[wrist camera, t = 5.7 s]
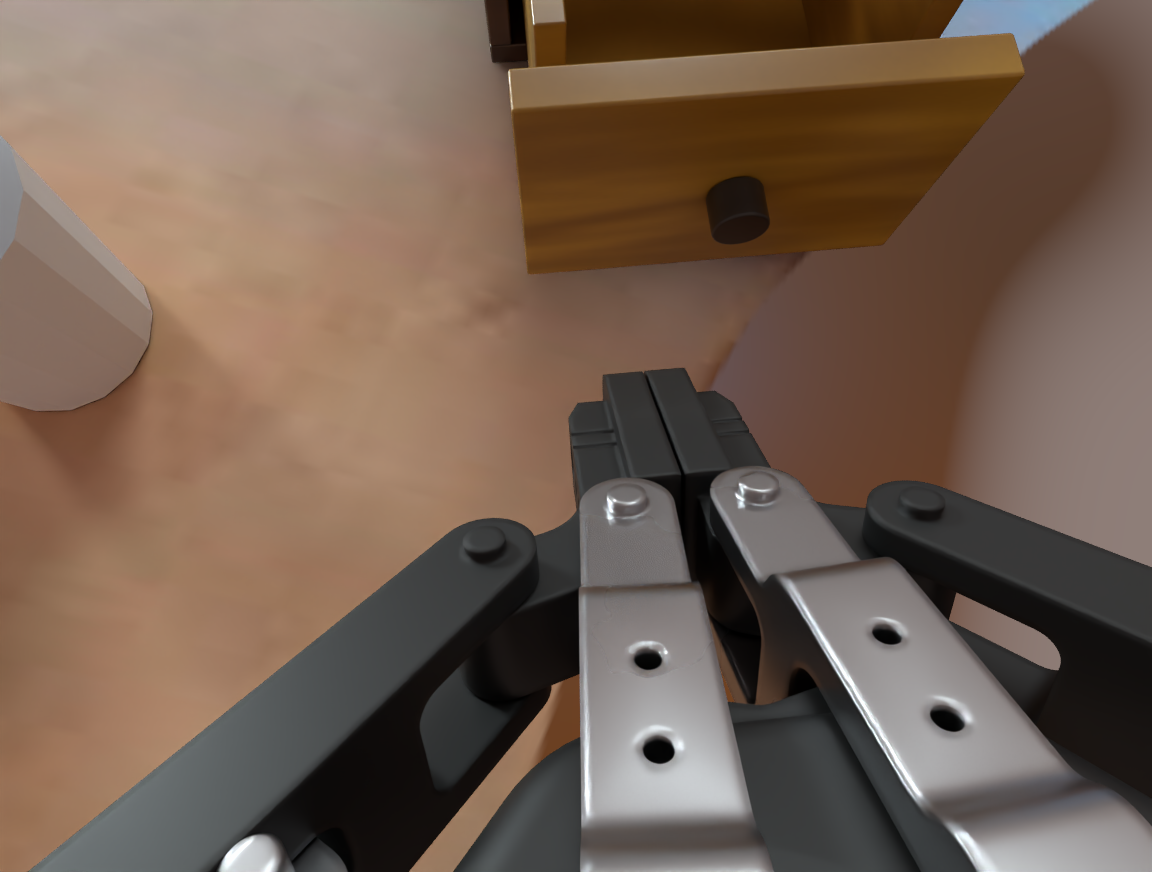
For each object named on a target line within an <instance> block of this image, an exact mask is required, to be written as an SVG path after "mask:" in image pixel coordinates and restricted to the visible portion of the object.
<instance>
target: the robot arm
mask: <svg viewBox="0 0 1152 872" xmlns="http://www.w3.org/2000/svg"><path fill="white" fill-rule="evenodd" d="M569 432H570V445H571V459H572V473H573V487H574V494H575V501H576V509H577V511H576V513H575V514H574V515H573V516H572V517H571V518H570V519H569V520H568V521H567V522H565V523H564V524H563V525H561V526H559V527H557V528H555V529H553V530H551V531H548V532H545V533H542V534H539V535H536V536H534V535H533V533H532V532H531V531H530V530H529V529H528V528H527V527H525V526H524V525H522V524H520V523H518V522H516V521H512V520H508V519H502V518H487V519H480V520H475V521H472V522H468V523H466V524H463V525H461V526H459V527H457V528H455V529H453V530H452V531H451V532H449V533H448V534H446V535H445V536H444V537H443V538H441V539H440V540H439V541H438V542H437V543H435V544H434V545H433V546H432V547H430V548H429V549H428V550H427V551H425V552H424V553H423V554H422V555H420V556H419V557H418V558H417V559H415V560H414V561H413V562H412V563H410V564H409V565H408V566H407V567H406V568H404V569H403V570H402V571H401V572H399V573H398V574H397V575H396V576H394V577H393V578H392V579H391V580H389V581H388V582H387V583H386V584H384V585H383V586H382V587H381V588H379V589H378V590H377V591H376V592H374V593H373V594H372V595H371V596H370V597H368V598H367V599H366V600H365V601H363V602H362V603H361V604H360V605H358V606H357V607H356V608H355V609H353V610H352V611H351V612H350V613H348V614H347V615H346V616H345V617H343V618H342V619H341V620H340V621H338V622H337V623H336V624H335V625H334V626H332V627H331V628H330V629H329V630H327V631H326V632H325V633H324V634H322V635H321V636H320V637H319V638H317V639H316V640H315V641H314V642H312V643H311V644H310V645H309V646H307V647H306V648H305V649H304V650H302V651H301V652H300V653H299V654H298V655H296V656H295V657H294V658H293V659H291V660H290V661H289V662H288V663H286V664H285V665H284V666H283V667H281V668H280V669H279V670H278V671H276V672H275V673H274V674H273V675H271V676H270V677H269V678H268V679H267V680H265V681H264V682H263V683H262V684H260V685H259V686H258V687H257V688H255V689H254V690H253V691H252V692H250V693H249V694H248V695H247V696H245V697H244V698H243V699H242V700H240V701H239V702H238V703H237V704H235V705H234V706H233V707H232V708H231V709H229V710H228V711H227V712H226V713H224V714H223V715H222V716H221V717H219V718H218V719H217V720H216V721H214V722H213V723H212V724H211V725H209V726H208V727H207V728H206V729H204V730H203V731H202V732H201V733H199V734H198V735H197V736H196V737H195V738H193V739H192V740H191V741H190V742H188V743H187V744H186V745H185V746H183V747H182V748H181V749H180V750H178V751H177V752H176V753H175V754H173V755H172V756H171V757H170V758H168V759H167V760H166V761H165V762H164V763H162V764H161V765H160V766H159V767H157V768H156V769H155V770H154V771H152V772H151V773H150V774H149V775H147V776H146V777H145V778H144V779H142V780H141V781H140V782H139V783H137V784H136V785H135V786H134V787H132V788H131V789H130V790H129V791H128V792H126V793H125V794H124V795H123V796H121V797H120V798H119V799H118V800H116V801H115V802H114V803H113V804H111V805H110V806H109V807H108V808H106V809H105V810H104V811H103V812H101V813H100V814H99V815H98V816H96V817H95V818H94V819H93V820H92V821H90V822H89V823H88V824H87V825H85V826H84V827H83V828H82V829H80V830H79V831H78V832H77V833H75V834H74V835H73V836H72V837H70V838H69V839H68V840H67V841H65V842H64V843H63V844H62V845H60V846H59V847H58V848H57V849H56V850H54V851H53V852H52V853H51V854H49V855H48V856H47V857H46V858H44V859H43V860H42V861H41V862H39V863H38V864H37V865H36V866H34V867H33V868H32V869H31V870H29V871H28V872H409V871H410V869H411V868H412V867H413V866H414V865H415V863H416V862H417V861H418V860H419V858H420V857H421V856H422V855H423V854H424V852H425V851H426V850H427V849H428V847H429V846H430V845H431V844H432V843H433V841H434V840H435V839H436V838H437V836H438V835H439V834H440V833H441V832H442V830H443V829H444V828H445V827H446V825H447V824H448V823H449V822H450V821H451V819H452V818H453V817H454V816H455V814H456V813H457V812H458V811H459V810H460V808H461V807H462V806H463V805H464V803H465V802H466V801H467V800H468V799H469V797H470V796H471V795H472V794H473V792H474V791H475V790H476V789H477V788H478V786H479V785H480V784H481V783H482V781H483V780H484V779H485V778H486V777H487V775H488V774H489V773H490V772H491V770H492V769H493V768H494V767H495V766H496V764H497V763H498V762H499V761H500V759H501V758H502V757H503V756H504V755H505V753H506V752H507V751H508V750H509V748H510V747H511V746H512V745H513V743H514V742H515V741H516V740H517V739H518V737H519V736H520V735H521V734H522V732H523V731H524V730H525V729H526V728H527V726H528V725H529V724H530V723H531V721H532V720H533V719H534V718H535V717H536V715H537V714H538V713H539V712H540V710H541V709H542V708H543V707H544V705H545V704H546V702H547V701H548V698H549V696H550V693H551V685H553V684H556V683H558V682H561V681H563V680H565V679H568V678H570V677H573V676H576V675H578V674H580V737H579V738H577V739H575V740H573V741H571V742H569V743H567V744H565V745H563V746H562V747H560V748H559V749H557V750H556V751H554V752H553V753H551V754H550V755H548V756H547V757H546V758H544V759H543V760H542V761H541V762H540V763H538V764H537V765H536V766H535V767H534V768H532V769H531V770H530V771H529V772H528V773H527V774H526V776H525V777H524V778H523V779H522V780H521V781H520V782H519V783H518V784H517V785H516V786H515V787H514V789H513V790H512V791H511V793H510V794H509V795H508V796H507V798H506V799H505V801H504V802H503V803H502V805H501V806H500V807H499V809H498V810H497V812H496V813H495V814H494V816H493V817H492V819H491V820H490V821H489V823H488V824H487V826H486V827H485V828H484V830H483V831H482V833H481V834H480V835H479V837H478V838H477V840H476V841H475V842H474V844H473V845H472V846H471V848H470V849H469V851H468V852H467V853H466V855H465V856H464V858H463V859H462V860H461V862H460V863H459V865H458V866H457V867H456V869H455V870H454V872H1152V567H1149V566H1147V565H1144V564H1141V563H1139V562H1136V561H1133V560H1131V559H1128V558H1125V557H1123V556H1120V555H1118V554H1115V553H1113V552H1110V551H1107V550H1105V549H1102V548H1100V547H1097V546H1094V545H1092V544H1089V543H1086V542H1084V541H1081V540H1079V539H1076V538H1073V537H1071V536H1068V535H1065V534H1063V533H1060V532H1057V531H1055V530H1052V529H1050V528H1047V527H1045V526H1042V525H1039V524H1037V523H1034V522H1031V521H1029V520H1026V519H1024V518H1021V517H1018V516H1016V515H1013V514H1011V513H1008V512H1005V511H1003V510H1000V509H997V508H995V507H992V506H990V505H987V504H984V503H982V502H979V501H977V500H974V499H971V498H969V497H966V496H963V495H961V494H958V493H956V492H953V491H950V490H947V489H945V488H943V487H940V486H937V485H933V484H929V483H925V482H918V481H893V482H888V483H885V484H882V485H879V486H877V487H876V488H874V489H873V490H872V491H871V492H870V494H869V496H868V499H867V504H866V508H858V507H849V506H839V505H831V504H824V503H820V502H815V500H814V499H813V498H812V496H811V495H810V494H809V492H808V491H807V490H806V489H805V488H804V486H803V485H802V484H801V483H800V482H799V481H798V480H797V479H796V478H794V477H793V476H791V475H789V474H787V473H785V472H783V471H780V470H777V469H773V468H771V467H770V465H769V464H768V462H767V460H766V458H765V457H764V455H763V453H762V452H761V450H760V448H759V446H758V444H757V443H756V441H755V439H754V438H753V436H752V434H751V433H749V429H748V427H747V425H746V424H745V422H744V421H742V417H741V415H740V413H739V412H738V410H737V408H736V406H735V405H734V403H733V402H731V401H730V400H728V399H727V398H725V397H724V396H722V395H720V394H719V393H717V392H716V391H706V392H696V390H695V388H694V386H693V384H692V382H691V380H690V378H689V376H688V374H687V372H686V370H685V368H674V369H663V370H651V371H645V372H644V374H643V372H642V371H641V372H630V373H618V374H607V375H603V401H595V402H584V403H578V404H577V405H576V407H575V408H574V410H573V411H572V413H571V415H570V416H569ZM956 592H957V593H959V594H961V595H963V596H966V597H968V598H970V599H972V600H974V601H976V602H978V603H980V604H983V605H985V606H987V607H989V608H991V609H993V610H995V611H997V612H1000V613H1002V614H1004V615H1006V616H1008V617H1010V618H1012V619H1014V620H1016V621H1019V622H1021V623H1023V624H1025V625H1027V626H1029V627H1031V628H1034V629H1036V630H1037V631H1039V632H1041V633H1042V634H1044V635H1045V636H1046V637H1048V638H1049V639H1050V640H1051V641H1052V642H1053V643H1054V645H1055V646H1056V648H1057V649H1058V651H1059V654H1060V657H1061V665H1060V668H1059V670H1050V669H1047V668H1044V667H1042V666H1039V665H1037V664H1035V663H1033V662H1031V661H1029V660H1027V659H1025V658H1023V657H1021V656H1019V655H1017V654H1015V653H1013V652H1011V651H1009V650H1007V649H1005V648H1003V647H1001V646H999V645H997V644H995V643H993V642H991V641H989V640H987V639H985V638H983V637H981V636H979V635H977V634H975V633H973V632H971V631H969V630H967V629H965V628H963V627H961V626H959V625H957V624H955V623H953V622H951V621H949V617H950V613H951V610H952V606H953V602H954V599H955V595H956ZM720 668H721V671H722V673H723V676H724V678H725V680H726V683H727V685H728V687H729V690H730V692H731V694H732V697H733V699H734V701H735V703H734V702H727V697H726V693H725V689H724V684H723V680H722V675H721V671H720Z"/></svg>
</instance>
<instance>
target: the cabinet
mask: <svg viewBox="0 0 1152 872" xmlns="http://www.w3.org/2000/svg"><path fill="white" fill-rule="evenodd" d="M484 2H485V9H486V17H487V25H488V33H489V41H490V49H491V57H492V62H494V63H496V62H510V61H524V60H528V54H527V44H526V34H525V24H524V14H523V4H522V0H484Z"/></svg>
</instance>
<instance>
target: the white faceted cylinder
mask: <svg viewBox="0 0 1152 872" xmlns="http://www.w3.org/2000/svg"><path fill="white" fill-rule="evenodd" d="M152 315H153V312H152V309H151V306H150V303H149V300H148V297H147V294H146V291H145V288H144V286H143V284H142V283H141V282H140V281H139V280H138V279H137V278H136V277H135V276H134V275H133V274H132V273H131V272H130V271H129V270H128V269H127V268H126V267H125V266H124V265H123V263H122V262H121V261H120V260H119V259H118V258H117V257H116V256H115V255H114V254H113V253H112V252H111V251H110V250H109V249H108V248H107V247H106V246H105V245H104V243H103V242H102V241H101V240H100V239H99V238H98V237H97V236H96V235H95V234H94V233H93V232H92V231H91V230H90V229H89V228H88V227H87V226H86V225H85V223H84V222H83V221H82V220H81V219H80V218H79V217H78V216H77V215H76V214H75V213H74V212H73V211H72V210H71V209H70V208H69V207H68V206H67V205H66V204H65V202H64V201H63V200H62V199H61V198H60V197H59V196H58V195H57V194H56V193H55V192H54V191H53V190H52V189H51V188H50V187H49V186H48V185H47V184H46V182H45V181H44V180H43V179H42V178H41V177H40V176H39V175H38V174H37V173H36V172H35V171H34V170H33V169H32V168H31V167H30V166H29V165H28V164H27V162H26V161H25V160H24V159H23V158H22V157H21V156H20V155H19V154H18V153H17V152H16V151H15V150H14V149H13V148H12V147H11V146H10V145H9V144H8V143H7V142H6V141H5V140H4V139H3V138H2V137H1V136H0V401H1V402H5V403H8V404H12V405H16V406H19V407H23V408H26V409H30V410H34V411H60V410H73V409H75V408H78V407H80V406H83V405H85V404H88V403H90V402H93V401H96V400H98V399H101V398H103V397H105V396H106V395H107V394H109V393H110V392H111V391H112V390H113V389H115V388H116V387H117V386H118V385H119V384H120V383H122V382H123V381H124V380H125V379H126V378H127V377H129V376H130V375H131V374H132V373H133V371H134V369H135V368H136V366H137V364H138V362H139V361H140V359H141V357H142V355H143V354H144V352H145V350H146V348H147V346H148V345H149V339H150V331H151V323H152Z"/></svg>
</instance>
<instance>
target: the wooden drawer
mask: <svg viewBox="0 0 1152 872" xmlns="http://www.w3.org/2000/svg"><path fill="white" fill-rule="evenodd" d="M962 2H963V0H522V4H523V14H524V24H525V34H526V44H527V54H528V64H529V68H516V69H510V70H509V71H508V84H509V95H510V106H511V117H512V127H513V136H514V146H515V156H516V166H517V175H518V185H519V195H520V205H521V214H522V224H523V234H524V244H525V253H526V263H527V272H528V274H542V273H554V272H566V271H578V270H590V269H602V268H614V267H626V266H638V265H650V264H662V263H674V262H686V261H698V260H710V259H722V258H734V257H746V256H758V255H770V254H783V253H795V252H807V251H819V250H831V249H843V248H855V247H866V246H879V245H883V244H884V243H885V242H886V241H887V239H888V238H889V237H890V236H891V235H892V233H893V232H894V231H895V230H896V229H897V227H898V226H899V225H900V224H901V223H902V221H903V220H904V219H905V218H906V217H907V215H908V214H909V213H910V212H911V211H912V209H913V208H914V207H915V206H916V205H917V203H918V202H919V201H920V200H921V199H922V197H923V196H924V195H925V194H926V193H927V191H928V190H929V189H930V188H931V187H932V185H933V184H934V183H935V182H936V180H937V179H938V178H939V177H940V176H941V175H942V173H943V172H944V171H945V170H946V169H947V167H948V166H949V165H950V164H951V163H952V161H953V160H954V159H955V158H956V157H957V155H958V154H959V153H960V152H961V151H962V149H963V148H964V147H965V146H966V145H967V143H968V142H969V141H970V140H971V138H972V137H973V136H974V135H975V134H976V132H977V131H978V130H979V129H980V128H981V127H982V125H983V124H984V123H985V122H986V121H987V119H988V118H989V117H990V116H991V115H992V113H993V112H994V111H995V110H996V109H997V107H998V106H999V105H1000V104H1001V103H1002V101H1003V100H1004V99H1005V98H1006V97H1007V95H1008V94H1009V93H1010V92H1011V91H1012V89H1013V88H1014V87H1015V86H1016V85H1017V83H1018V82H1019V81H1020V80H1021V79H1022V77H1023V76H1024V74H1025V70H1024V67H1023V64H1022V61H1021V57H1020V54H1019V51H1018V48H1017V44H1016V41H1015V38H1014V35H1013V34H1011V33H1006V34H992V35H978V36H964V37H950V38H940V36H941V35H942V33H943V31H944V30H945V28H946V27H947V25H948V24H949V22H950V20H951V19H952V17H953V16H954V14H955V13H956V11H957V9H958V8H959V6H960V5H961V3H962Z"/></svg>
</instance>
